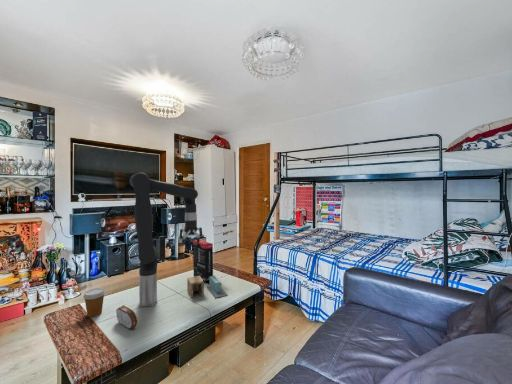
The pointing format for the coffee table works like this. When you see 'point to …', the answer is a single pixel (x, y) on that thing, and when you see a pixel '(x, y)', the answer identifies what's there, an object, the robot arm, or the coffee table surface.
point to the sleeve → (195, 285)
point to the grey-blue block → (215, 284)
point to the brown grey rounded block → (126, 317)
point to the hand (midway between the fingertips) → (191, 244)
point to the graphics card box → (203, 259)
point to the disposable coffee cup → (94, 301)
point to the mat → (218, 294)
